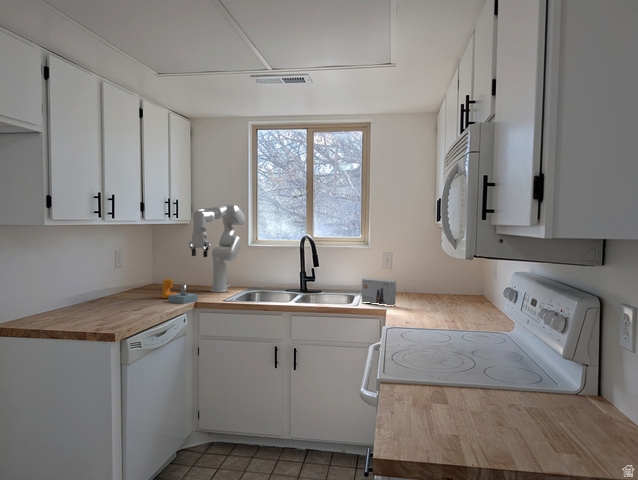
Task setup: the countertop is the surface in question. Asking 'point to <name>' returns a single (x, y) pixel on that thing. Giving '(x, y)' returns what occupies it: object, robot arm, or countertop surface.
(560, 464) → the countertop surface
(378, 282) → the skincare box
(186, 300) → the socket block
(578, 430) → the countertop surface
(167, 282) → the bracket
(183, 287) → the peg
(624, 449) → the countertop surface
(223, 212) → the robot arm
